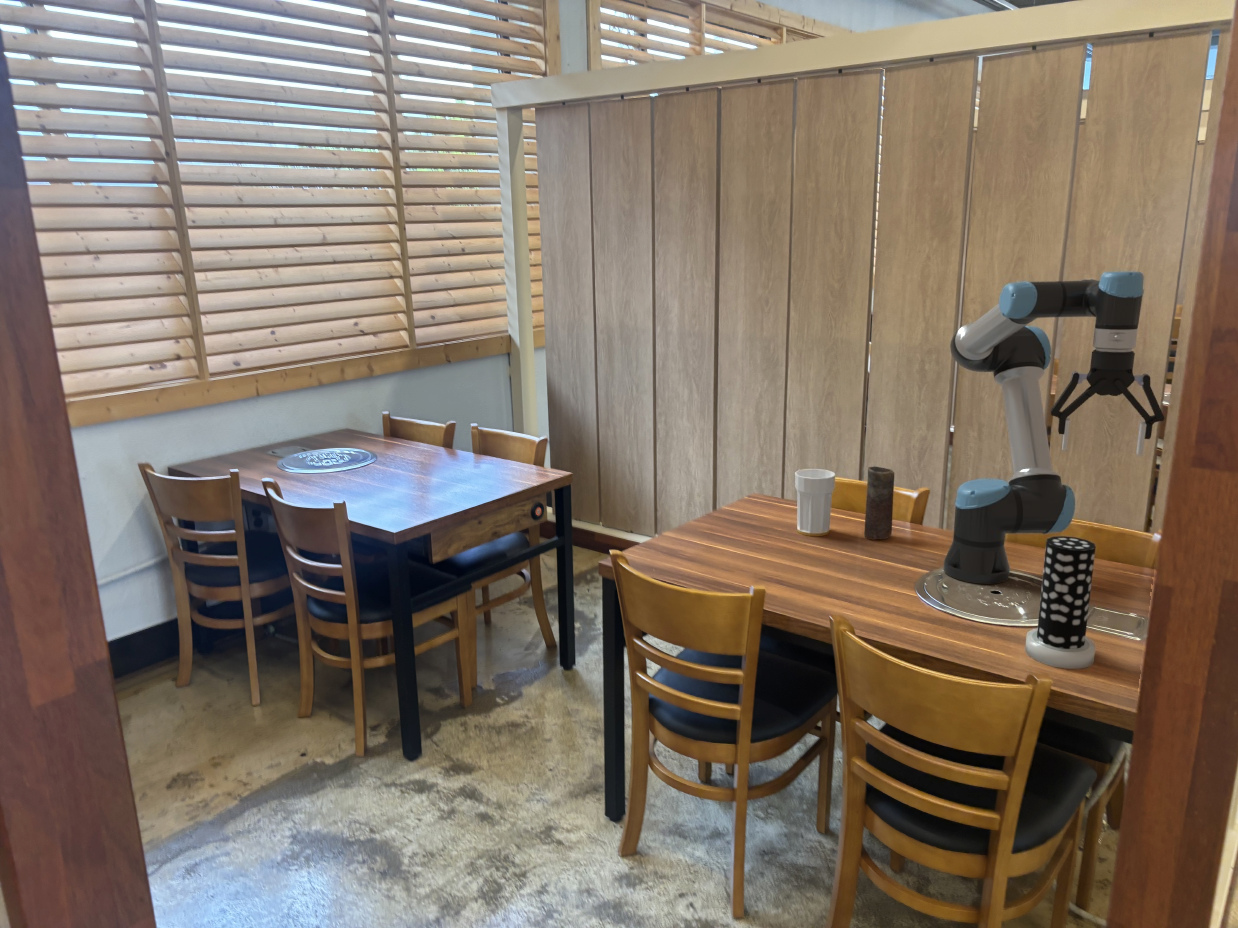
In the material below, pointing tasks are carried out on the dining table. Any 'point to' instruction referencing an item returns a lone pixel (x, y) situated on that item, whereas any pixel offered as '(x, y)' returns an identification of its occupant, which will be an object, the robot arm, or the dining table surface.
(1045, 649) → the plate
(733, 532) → the dining table surface
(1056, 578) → the spotted tube
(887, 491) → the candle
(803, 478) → the cup
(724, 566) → the dining table surface
